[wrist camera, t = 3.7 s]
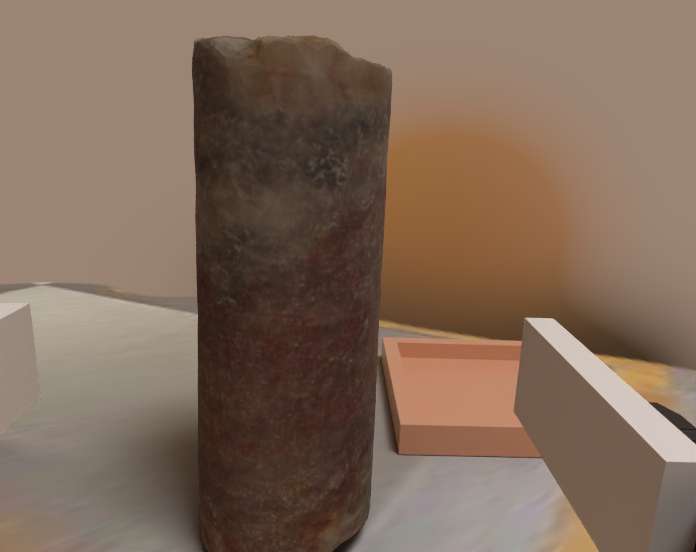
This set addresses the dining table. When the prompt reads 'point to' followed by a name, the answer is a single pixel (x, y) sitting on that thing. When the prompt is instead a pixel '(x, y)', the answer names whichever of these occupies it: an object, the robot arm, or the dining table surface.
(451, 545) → the dining table surface
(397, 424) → the dish
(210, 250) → the candle
